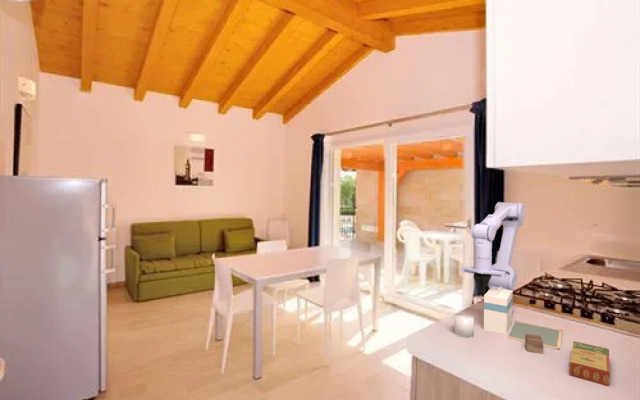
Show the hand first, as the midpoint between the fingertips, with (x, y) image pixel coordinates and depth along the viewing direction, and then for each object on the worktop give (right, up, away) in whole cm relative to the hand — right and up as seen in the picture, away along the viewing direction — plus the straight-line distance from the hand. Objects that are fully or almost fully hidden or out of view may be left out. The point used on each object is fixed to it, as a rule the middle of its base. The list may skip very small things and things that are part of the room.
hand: (482, 294), depth 124 cm
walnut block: (+6, -11, -20) cm, 24 cm away
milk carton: (+4, -11, -3) cm, 12 cm away
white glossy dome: (-11, -11, -9) cm, 18 cm away
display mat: (+13, -11, -10) cm, 20 cm away
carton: (+15, -12, -31) cm, 36 cm away
